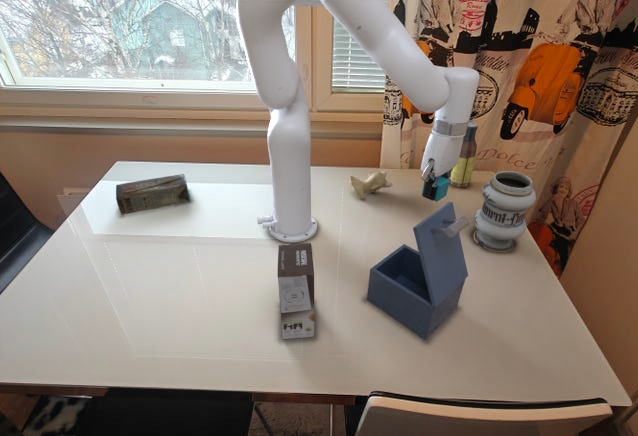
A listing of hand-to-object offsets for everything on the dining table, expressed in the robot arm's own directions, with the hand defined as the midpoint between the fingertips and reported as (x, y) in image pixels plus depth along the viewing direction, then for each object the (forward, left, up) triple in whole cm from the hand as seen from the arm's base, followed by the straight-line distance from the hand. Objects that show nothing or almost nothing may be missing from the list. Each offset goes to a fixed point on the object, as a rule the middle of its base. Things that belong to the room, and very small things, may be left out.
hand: (434, 194), depth 98 cm
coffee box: (-38, -25, -11) cm, 47 cm away
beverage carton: (-73, +26, -11) cm, 79 cm away
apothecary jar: (+15, -8, -11) cm, 20 cm away
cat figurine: (-10, +20, -11) cm, 25 cm away
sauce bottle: (+20, +21, -11) cm, 31 cm away
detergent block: (0, 0, 0) cm, 0 cm away
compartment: (-14, -25, -11) cm, 31 cm away
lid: (-12, -28, +6) cm, 31 cm away
